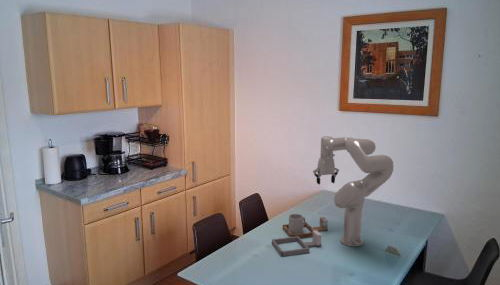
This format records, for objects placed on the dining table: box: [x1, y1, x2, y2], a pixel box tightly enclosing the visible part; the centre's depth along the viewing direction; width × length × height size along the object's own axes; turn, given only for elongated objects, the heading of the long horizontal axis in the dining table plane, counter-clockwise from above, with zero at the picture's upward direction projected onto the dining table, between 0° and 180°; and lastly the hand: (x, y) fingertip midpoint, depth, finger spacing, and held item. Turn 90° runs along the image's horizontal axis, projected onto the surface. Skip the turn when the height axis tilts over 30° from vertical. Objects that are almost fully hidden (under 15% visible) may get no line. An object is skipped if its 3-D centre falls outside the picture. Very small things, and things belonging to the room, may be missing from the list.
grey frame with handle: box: [271, 230, 322, 257], centre depth 208 cm, size 16×26×7 cm, turn 105°
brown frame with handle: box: [282, 216, 329, 239], centre depth 228 cm, size 16×26×7 cm, turn 105°
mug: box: [288, 213, 306, 234], centre depth 226 cm, size 12×8×11 cm
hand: (325, 183), depth 232 cm, fingers open, 9 cm apart
